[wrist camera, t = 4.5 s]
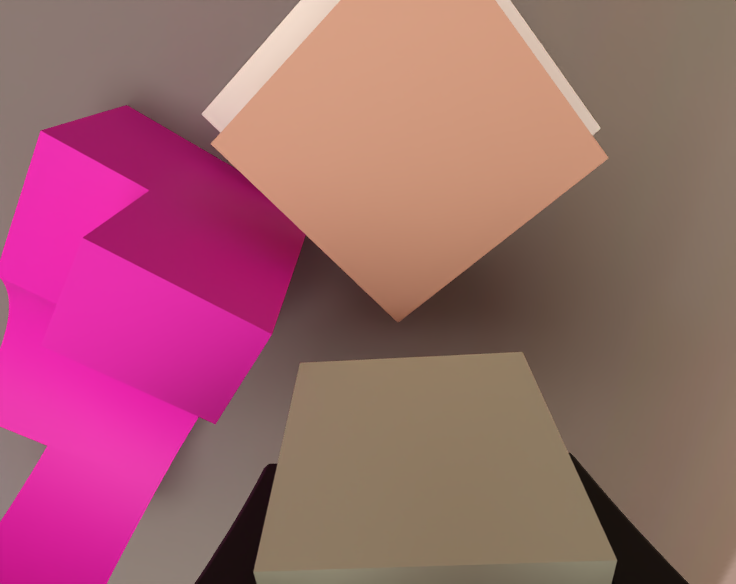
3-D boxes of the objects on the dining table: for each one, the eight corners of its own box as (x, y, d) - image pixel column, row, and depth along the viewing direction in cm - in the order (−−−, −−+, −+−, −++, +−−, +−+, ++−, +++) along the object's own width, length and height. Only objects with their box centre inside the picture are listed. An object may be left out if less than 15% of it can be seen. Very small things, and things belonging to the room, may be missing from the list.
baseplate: (592, 125, 15) (600, 128, 14) (390, 289, 18) (390, 297, 17) (414, -126, 12) (416, -133, 12) (207, 111, 15) (201, 114, 14)
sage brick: (509, 507, 12) (573, 738, 8) (323, 513, 12) (299, 742, 8) (522, 352, 10) (616, 560, 6) (299, 362, 10) (253, 571, 6)
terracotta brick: (551, 126, 14) (608, 158, 11) (393, 259, 16) (398, 322, 13) (412, -60, 12) (426, -96, 9) (251, 115, 14) (210, 143, 11)
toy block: (129, 104, 15) (-66, 161, 8) (313, 211, 17) (272, 334, 10) (4, 430, 21) (-168, 617, 14) (148, 489, 22) (52, 683, 16)
